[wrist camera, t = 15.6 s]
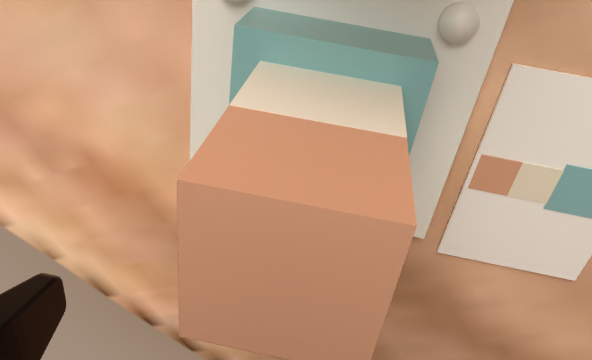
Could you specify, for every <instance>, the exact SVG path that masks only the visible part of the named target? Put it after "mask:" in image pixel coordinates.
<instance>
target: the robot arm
mask: <svg viewBox="0 0 592 360" xmlns="http://www.w3.org/2000/svg"><path fill="white" fill-rule="evenodd" d="M65 309H66V298H65V293H64V287H63V282H62V279H61V278H60V277H58V276H55V275H50V274H46V273H41V274H38V275H35V276H33V277H32V278H30V279H28V280H26V281H24V282H22V283H20V284H19V285H17V286H15V287H13V288H12V289H9V290H7V291H6V292H4V293H2V294H0V360H40V359H41V357H42V355H43V353H44V351H45V350H46V347H47V346H48V344H49V342H50V340H51V338H52V336H53V334H54V332H55V330H56V328H57V326H58V324H59V322H60V321H61V319H62V317H63V315H64V312H65Z"/></svg>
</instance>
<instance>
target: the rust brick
mask: <svg viewBox="0 0 592 360" xmlns="http://www.w3.org/2000/svg"><path fill="white" fill-rule="evenodd" d="M177 215H178V294H179V336H180V337H184V338H189V339H194V340H198V341H203V342H208V343H212V344H217V345H222V346H226V347H231V348H236V349H240V350H245V351H250V352H254V353H259V354H264V355H268V356H273V357H278V358H282V359H287V360H371V358H372V355H373V352H374V349H375V347H376V344H377V341H378V338H379V335H380V332H381V329H382V326H383V323H384V320H385V317H386V315H387V312H388V309H389V306H390V303H391V300H392V297H393V294H394V291H395V288H396V285H397V283H398V280H399V277H400V274H401V271H402V268H403V265H404V262H405V259H406V256H407V253H408V251H409V248H410V245H411V242H412V239H413V236H414V233H415V230H416V227H417V223H416V214H415V205H414V196H413V188H412V179H411V170H410V161H409V152H408V143H407V138H406V137H400V136H395V135H389V134H384V133H378V132H373V131H367V130H362V129H357V128H351V127H346V126H340V125H335V124H329V123H324V122H318V121H313V120H308V119H302V118H297V117H291V116H286V115H280V114H275V113H269V112H264V111H259V110H253V109H248V108H242V107H237V106H231V105H229V106H228V107H227V109H226V110H225V112H224V113H223V115H222V116H221V117H220V119H219V120H218V122H217V123H216V125H215V126H214V127H213V129H212V130H211V132H210V133H209V135H208V136H207V137H206V139H205V140H204V142H203V143H202V145H201V146H200V147H199V149H198V150H197V152H196V153H195V155H194V156H193V157H192V159H191V160H190V162H189V163H188V165H187V166H186V167H185V169H184V170H183V172H182V173H181V175H180V176H179V177H178V179H177Z"/></svg>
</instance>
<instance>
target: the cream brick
mask: <svg viewBox="0 0 592 360" xmlns="http://www.w3.org/2000/svg"><path fill="white" fill-rule="evenodd" d="M230 105H231V106H237V107H242V108H248V109H253V110H259V111H264V112H269V113H275V114H280V115H286V116H291V117H297V118H302V119H308V120H313V121H318V122H324V123H329V124H335V125H340V126H346V127H351V128H357V129H362V130H367V131H373V132H378V133H384V134H389V135H395V136H400V137H406V138H407V131H406V123H405V114H404V105H403V97H402V88H401V86H398V85H392V84H387V83H381V82H376V81H370V80H364V79H359V78H353V77H348V76H342V75H337V74H331V73H326V72H320V71H315V70H309V69H303V68H298V67H292V66H287V65H281V64H276V63H270V62H265V61H260V62H259V63H258V65H257V66H256V67H255V69H254V70H253V72H252V73H251V75H250V76H249V77H248V79H247V80H246V82H245V83H244V85H243V86H242V87H241V89H240V90H239V92H238V93H237V95H236V96H235V97H234V99H233V100H232V102H231V103H230Z"/></svg>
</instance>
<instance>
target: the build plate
mask: <svg viewBox="0 0 592 360" xmlns="http://www.w3.org/2000/svg"><path fill="white" fill-rule="evenodd" d="M513 2H514V0H193V11H192V67H191V124H190V160H191V159H192V157H193V156H194V155H195V153H196V152H197V150H198V149H199V147H200V146H201V145H202V143H203V142H204V140H205V139H206V137H207V136H208V135H209V133H210V132H211V130H212V129H213V127H214V126H215V125H216V123H217V122H218V120H219V119H220V117H221V116H222V115H223V113H224V112H225V110H226V109H227V107H228V106H229V105H230V103H231V102H232V100H233V99H234V97H235V96H236V95H237V93H238V92H239V90H240V89H241V87H242V86H243V85H244V83H245V82H246V80H247V79H248V77H249V76H250V75H251V73H252V72H253V70H254V69H255V67H256V66H257V65H258V63H259V62H260V61H265V62H270V63H276V64H281V65H287V66H292V67H298V68H303V69H309V70H315V71H320V72H326V73H331V74H337V75H342V76H348V77H353V78H359V79H364V80H370V81H376V82H381V83H387V84H392V85H398V86H401V88H402V97H403V105H404V114H405V123H406V131H407V143H408V152H409V161H410V170H411V179H412V188H413V196H414V205H415V214H416V223H417V227H416V230H415V233H414V236H413V237H417V238H422V239H424V238H425V235H426V232H427V230H428V227H429V224H430V222H431V219H432V216H433V214H434V211H435V208H436V206H437V203H438V201H439V198H440V195H441V193H442V190H443V187H444V185H445V182H446V179H447V177H448V174H449V171H450V169H451V166H452V163H453V161H454V158H455V155H456V153H457V150H458V147H459V145H460V142H461V140H462V137H463V134H464V132H465V129H466V126H467V124H468V121H469V118H470V116H471V113H472V110H473V108H474V105H475V102H476V100H477V97H478V94H479V92H480V89H481V86H482V84H483V81H484V79H485V76H486V73H487V71H488V68H489V65H490V63H491V60H492V57H493V55H494V52H495V49H496V47H497V44H498V41H499V39H500V36H501V33H502V31H503V28H504V25H505V23H506V20H507V18H508V15H509V12H510V10H511V7H512V4H513Z"/></svg>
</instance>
